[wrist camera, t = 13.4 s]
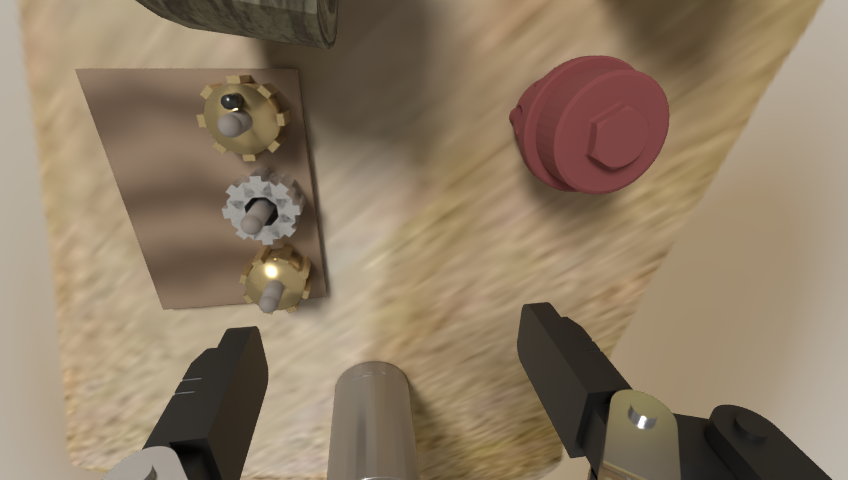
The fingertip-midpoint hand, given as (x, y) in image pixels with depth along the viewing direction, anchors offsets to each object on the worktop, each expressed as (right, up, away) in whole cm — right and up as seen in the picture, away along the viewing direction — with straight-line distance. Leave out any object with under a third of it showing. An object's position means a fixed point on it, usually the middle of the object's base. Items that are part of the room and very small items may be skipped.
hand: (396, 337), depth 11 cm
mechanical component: (+12, +15, +24) cm, 31 cm away
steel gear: (-13, +7, +23) cm, 27 cm away
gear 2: (-14, 0, +26) cm, 29 cm away
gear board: (-18, +7, +23) cm, 30 cm away
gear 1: (-13, +13, +20) cm, 27 cm away
